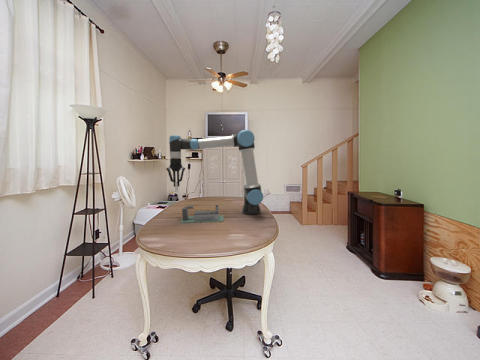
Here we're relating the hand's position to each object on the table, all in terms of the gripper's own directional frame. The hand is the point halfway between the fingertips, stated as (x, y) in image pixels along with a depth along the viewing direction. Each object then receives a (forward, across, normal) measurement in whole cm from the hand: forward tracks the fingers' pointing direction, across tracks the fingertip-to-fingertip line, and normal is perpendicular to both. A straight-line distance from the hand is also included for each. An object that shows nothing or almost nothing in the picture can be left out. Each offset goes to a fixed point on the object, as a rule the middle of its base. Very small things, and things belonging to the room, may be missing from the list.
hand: (176, 191), depth 149 cm
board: (+21, -18, +1) cm, 28 cm away
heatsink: (+21, -21, +1) cm, 30 cm away
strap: (+14, -21, +1) cm, 25 cm away
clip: (+21, -8, 0) cm, 22 cm away
